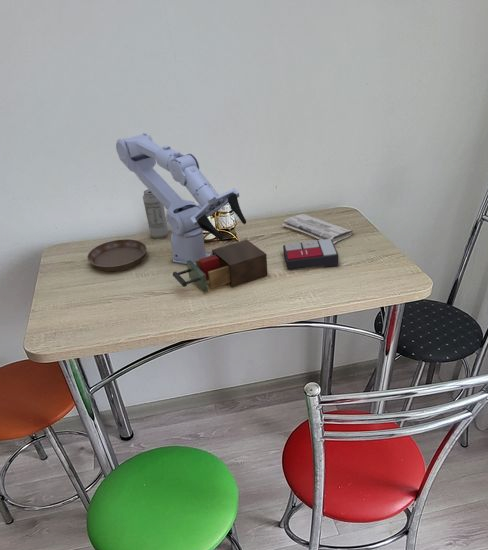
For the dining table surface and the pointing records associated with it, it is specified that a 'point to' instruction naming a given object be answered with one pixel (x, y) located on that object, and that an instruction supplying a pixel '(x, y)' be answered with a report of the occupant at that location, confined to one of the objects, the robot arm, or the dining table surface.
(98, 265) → the plant saucer
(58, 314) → the dining table surface
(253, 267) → the cabinet
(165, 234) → the energy drink can
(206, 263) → the card box
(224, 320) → the dining table surface
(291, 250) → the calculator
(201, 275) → the drawer
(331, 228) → the newspaper
